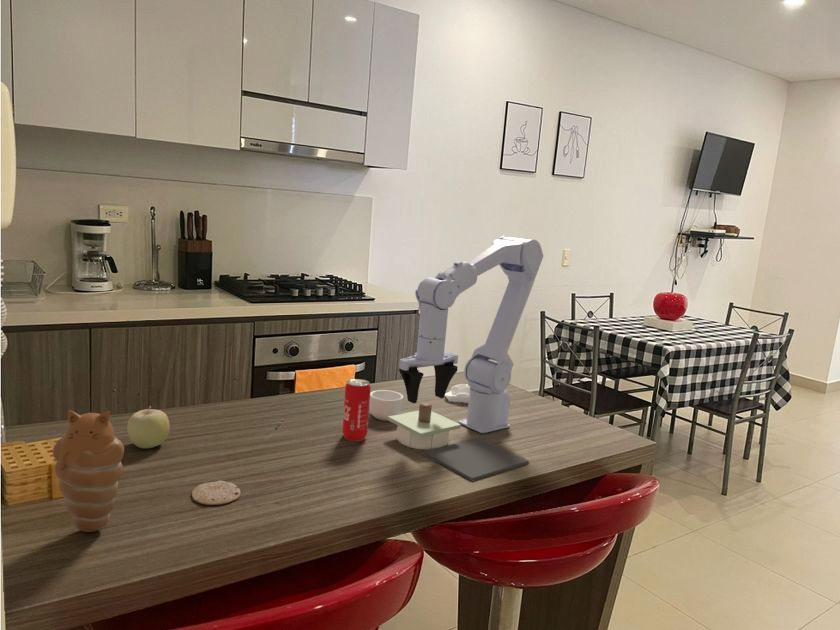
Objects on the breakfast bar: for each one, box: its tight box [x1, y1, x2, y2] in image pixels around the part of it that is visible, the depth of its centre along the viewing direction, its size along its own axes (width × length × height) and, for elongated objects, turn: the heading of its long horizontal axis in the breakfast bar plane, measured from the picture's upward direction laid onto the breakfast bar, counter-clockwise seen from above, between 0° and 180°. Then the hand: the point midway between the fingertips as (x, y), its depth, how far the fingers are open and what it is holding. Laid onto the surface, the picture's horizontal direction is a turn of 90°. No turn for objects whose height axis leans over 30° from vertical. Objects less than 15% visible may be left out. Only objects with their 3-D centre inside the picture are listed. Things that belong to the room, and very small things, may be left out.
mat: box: [422, 437, 530, 482], centre depth 127 cm, size 16×14×1 cm
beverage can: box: [342, 378, 372, 442], centre depth 131 cm, size 5×5×12 cm
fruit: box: [126, 405, 171, 450], centre depth 119 cm, size 8×7×8 cm
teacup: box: [369, 389, 404, 422], centre depth 146 cm, size 10×8×5 cm
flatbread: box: [191, 479, 241, 506], centre depth 103 cm, size 8×8×1 cm
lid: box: [388, 402, 462, 437], centre depth 133 cm, size 11×11×4 cm
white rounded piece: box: [444, 383, 470, 404], centre depth 165 cm, size 10×4×10 cm
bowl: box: [396, 425, 450, 451], centre depth 134 cm, size 11×11×4 cm
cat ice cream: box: [52, 409, 125, 533], centre depth 88 cm, size 9×8×18 cm
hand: (425, 399), depth 133 cm, fingers open, 7 cm apart
